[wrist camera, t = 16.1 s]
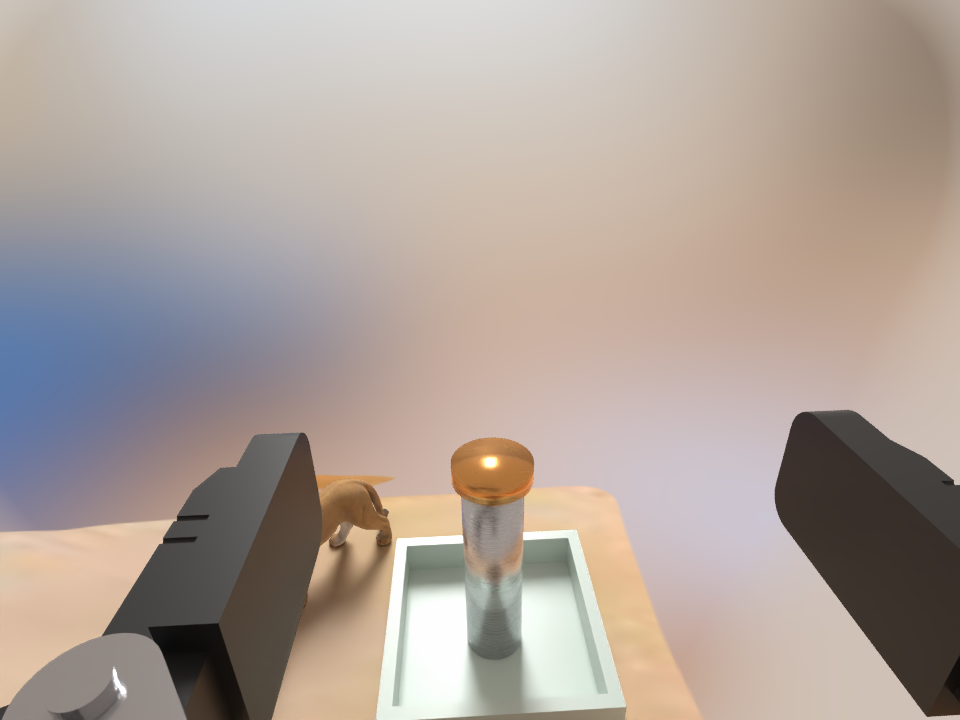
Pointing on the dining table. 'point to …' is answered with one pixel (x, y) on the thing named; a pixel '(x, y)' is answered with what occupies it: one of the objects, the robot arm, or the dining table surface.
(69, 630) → the dining table surface
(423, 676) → the tray
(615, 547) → the dining table surface
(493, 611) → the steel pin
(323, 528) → the lion figurine
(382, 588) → the dining table surface
